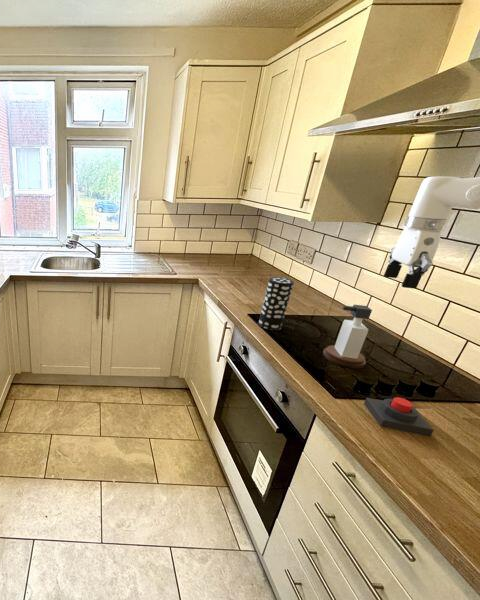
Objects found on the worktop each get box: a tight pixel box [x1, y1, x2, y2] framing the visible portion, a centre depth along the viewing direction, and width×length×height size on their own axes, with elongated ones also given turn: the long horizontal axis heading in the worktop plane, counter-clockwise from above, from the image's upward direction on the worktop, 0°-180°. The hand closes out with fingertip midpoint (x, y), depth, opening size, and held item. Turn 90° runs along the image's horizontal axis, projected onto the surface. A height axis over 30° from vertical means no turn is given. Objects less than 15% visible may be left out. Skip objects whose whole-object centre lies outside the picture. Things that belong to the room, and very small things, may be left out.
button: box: [391, 396, 414, 413], centre depth 81 cm, size 4×4×2 cm
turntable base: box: [322, 347, 367, 369], centre depth 109 cm, size 12×12×1 cm
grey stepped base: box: [363, 397, 435, 437], centre depth 82 cm, size 10×9×4 cm
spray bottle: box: [325, 304, 373, 363], centre depth 105 cm, size 10×10×18 cm
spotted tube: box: [257, 276, 294, 331], centre depth 128 cm, size 8×8×20 cm
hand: (398, 282), depth 94 cm, fingers open, 9 cm apart
